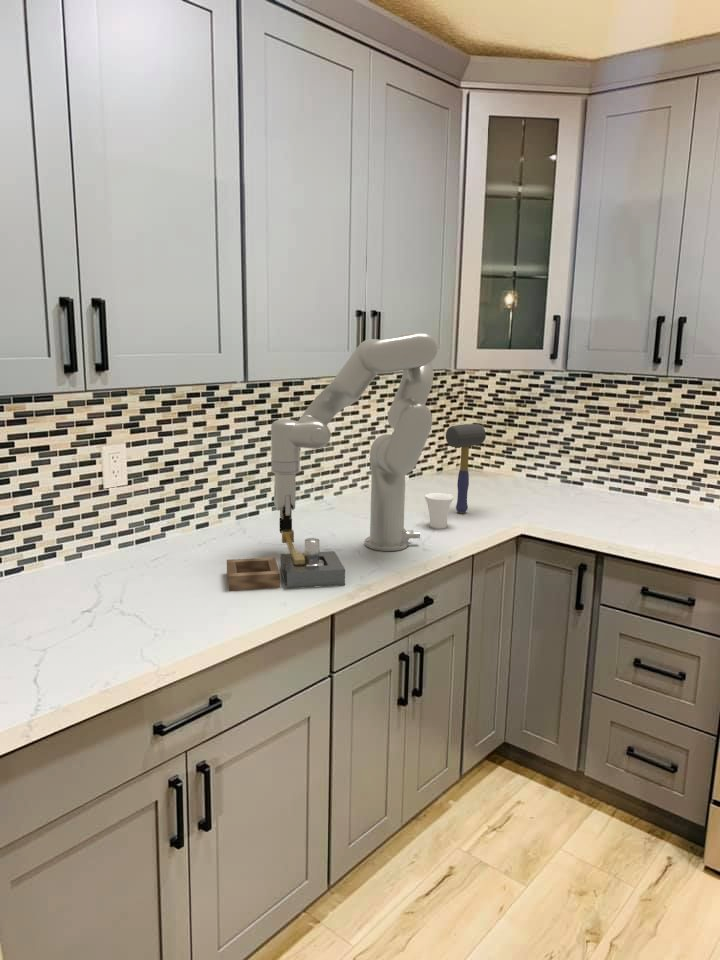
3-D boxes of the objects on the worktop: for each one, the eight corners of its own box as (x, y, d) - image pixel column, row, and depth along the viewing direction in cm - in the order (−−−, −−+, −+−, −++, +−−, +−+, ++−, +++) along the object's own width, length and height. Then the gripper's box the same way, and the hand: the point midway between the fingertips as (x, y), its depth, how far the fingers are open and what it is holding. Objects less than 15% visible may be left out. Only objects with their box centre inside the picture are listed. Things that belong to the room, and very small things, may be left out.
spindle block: (334, 565, 186) (334, 551, 185) (345, 585, 172) (345, 569, 171) (280, 568, 182) (280, 553, 182) (287, 588, 169) (287, 572, 168)
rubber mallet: (454, 517, 233) (459, 426, 227) (440, 512, 239) (444, 423, 233) (482, 512, 240) (488, 424, 233) (468, 507, 246) (472, 421, 240)
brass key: (294, 540, 192) (294, 529, 191) (305, 564, 173) (305, 552, 173) (281, 540, 191) (281, 529, 191) (291, 564, 173) (291, 553, 172)
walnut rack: (274, 570, 181) (274, 557, 180) (280, 587, 170) (280, 573, 169) (226, 573, 179) (226, 559, 178) (229, 590, 167) (228, 576, 166)
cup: (457, 529, 220) (459, 497, 218) (429, 530, 218) (430, 499, 216) (447, 521, 229) (448, 491, 227) (419, 522, 227) (420, 492, 224)
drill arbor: (321, 572, 181) (322, 536, 179) (325, 580, 175) (326, 543, 173) (298, 573, 180) (298, 537, 177) (301, 581, 174) (301, 544, 172)
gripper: (268, 461, 197) (269, 525, 201) (274, 472, 183) (274, 541, 187) (296, 460, 198) (295, 524, 202) (303, 471, 184) (303, 540, 188)
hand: (285, 532), depth 194 cm, fingers closed
